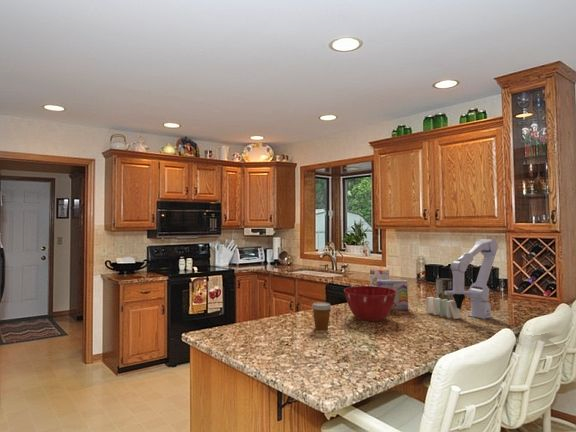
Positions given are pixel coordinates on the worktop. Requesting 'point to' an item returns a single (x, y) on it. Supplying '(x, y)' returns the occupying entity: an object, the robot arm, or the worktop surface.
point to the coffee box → (444, 288)
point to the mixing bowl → (370, 301)
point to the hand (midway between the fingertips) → (458, 308)
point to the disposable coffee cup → (321, 315)
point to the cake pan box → (401, 290)
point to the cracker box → (378, 275)
